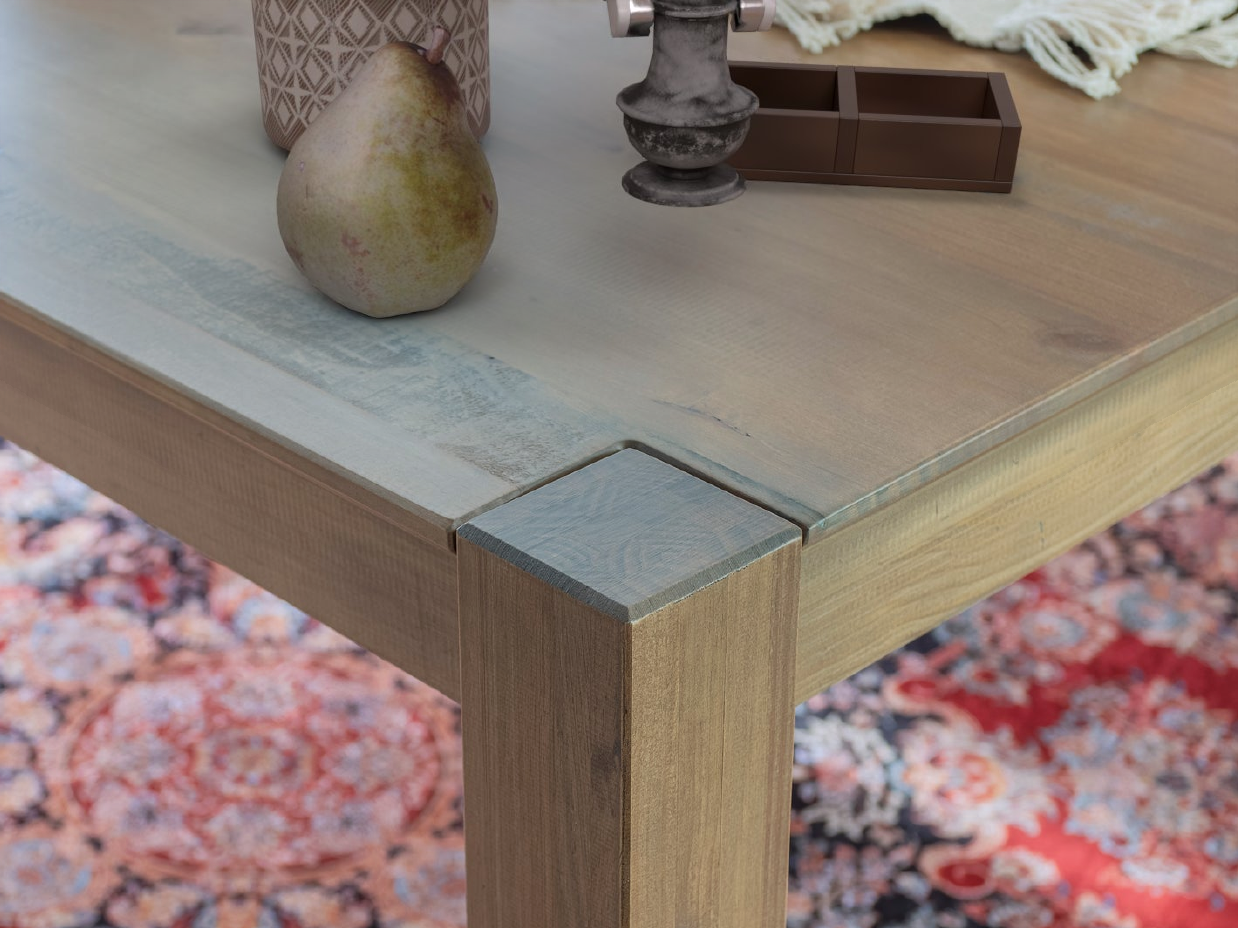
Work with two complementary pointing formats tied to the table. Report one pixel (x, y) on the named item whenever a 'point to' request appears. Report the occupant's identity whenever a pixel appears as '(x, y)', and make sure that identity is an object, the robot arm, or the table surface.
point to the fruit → (390, 187)
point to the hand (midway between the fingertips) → (695, 27)
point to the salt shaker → (687, 110)
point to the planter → (358, 53)
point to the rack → (878, 126)
